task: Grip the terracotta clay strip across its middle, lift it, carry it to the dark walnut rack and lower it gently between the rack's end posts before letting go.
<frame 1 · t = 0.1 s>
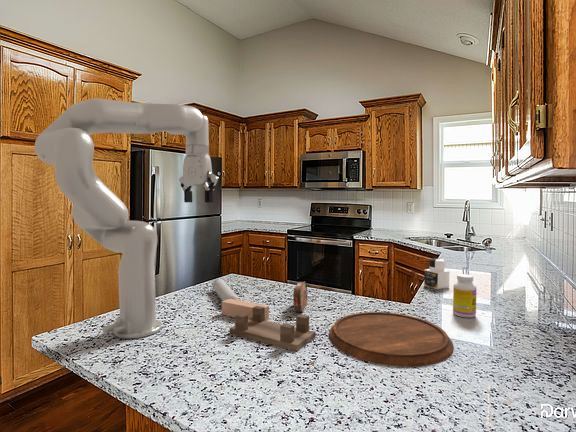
hand: (198, 202, 117), 37 cm above the countertop, tool pointing down, fingers open, 9 cm apart
cutting board: (388, 340, 93), on the countertop
rack: (271, 335, 95), on the countertop
tin: (300, 308, 119), on the countertop
tube: (225, 299, 130), on the countertop
supplement bottle: (464, 315, 111), on the countertop
clay strip: (244, 317, 110), on the countertop
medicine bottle: (436, 287, 147), on the countertop
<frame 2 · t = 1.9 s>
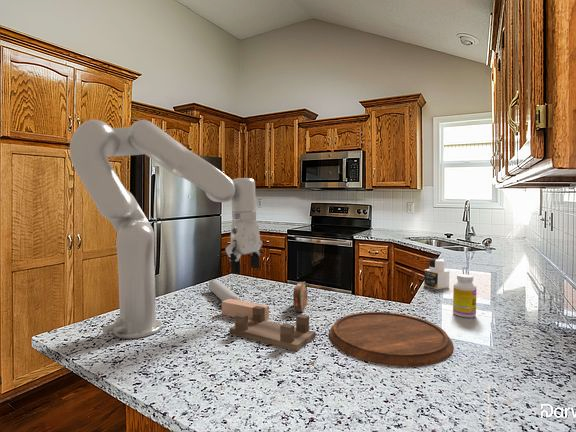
hand: (245, 270, 110), 15 cm above the countertop, tool pointing down, fingers open, 9 cm apart
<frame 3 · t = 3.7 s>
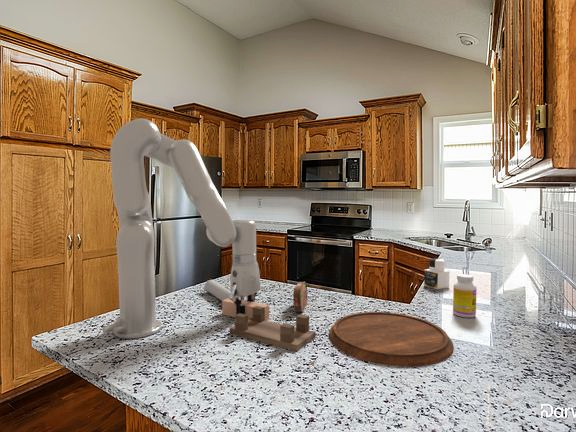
hand: (245, 314, 110), 1 cm above the countertop, tool pointing down, fingers closed on clay strip, 4 cm apart
clay strip: (245, 316, 110), on the countertop, touching gripper
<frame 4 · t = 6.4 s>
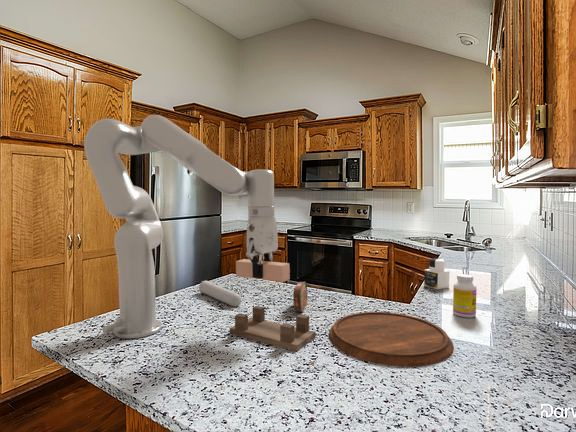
hand: (262, 275, 99), 16 cm above the countertop, tool pointing down, fingers closed on clay strip, 4 cm apart
clay strip: (262, 277, 100), point 15 cm above the countertop, touching gripper
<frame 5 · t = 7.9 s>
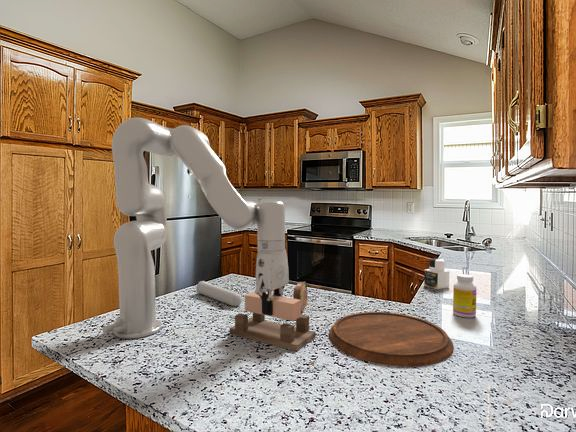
hand: (272, 311, 95), 7 cm above the countertop, tool pointing down, fingers closed on clay strip, 4 cm apart
clay strip: (272, 313, 95), point 6 cm above the countertop, touching gripper
when the fingers open (3 cm above the countertop, at t = 8.9 s): clay strip stays where it is, resting on rack.
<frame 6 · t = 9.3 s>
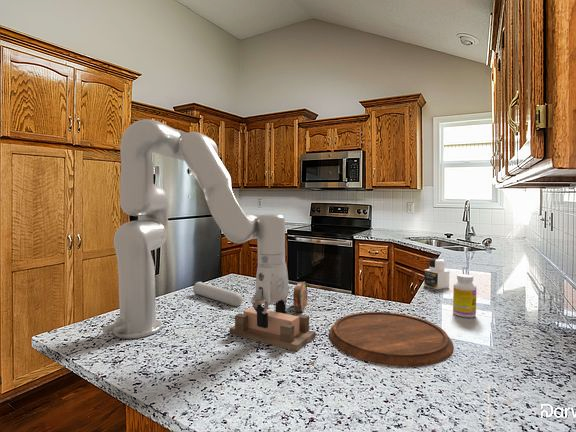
hand: (271, 321, 95), 4 cm above the countertop, tool pointing down, fingers open, 8 cm apart
clay strip: (270, 329, 95), point 1 cm above the countertop, touching rack
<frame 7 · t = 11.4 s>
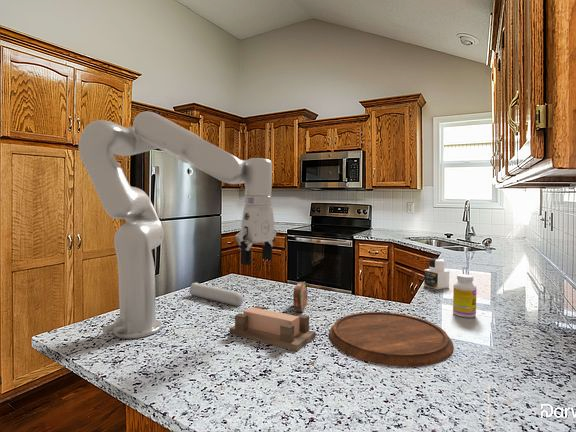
hand: (256, 261, 98), 20 cm above the countertop, tool pointing down, fingers open, 9 cm apart
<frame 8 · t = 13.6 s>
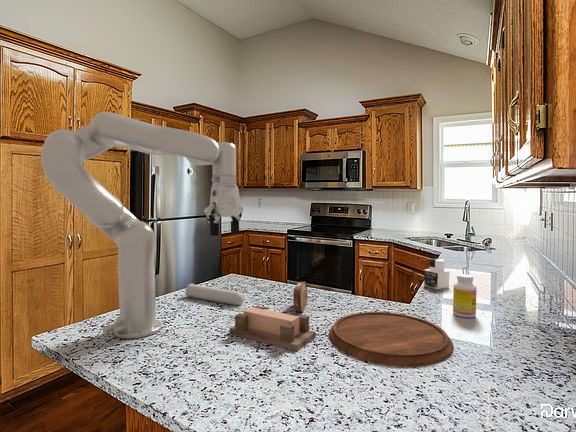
hand: (225, 234, 112), 26 cm above the countertop, tool pointing down, fingers open, 9 cm apart
at the end: clay strip 0.4 cm off-centre on the rack, point 1.5 cm above the rack's base; clay strip tilted 0°; the gripper is holding nothing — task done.
